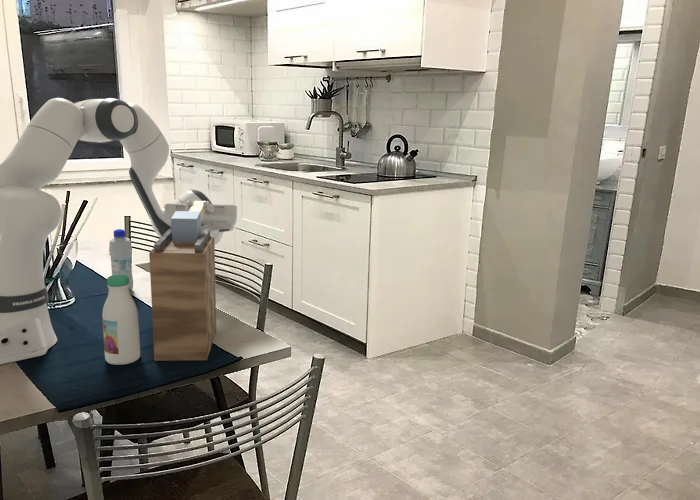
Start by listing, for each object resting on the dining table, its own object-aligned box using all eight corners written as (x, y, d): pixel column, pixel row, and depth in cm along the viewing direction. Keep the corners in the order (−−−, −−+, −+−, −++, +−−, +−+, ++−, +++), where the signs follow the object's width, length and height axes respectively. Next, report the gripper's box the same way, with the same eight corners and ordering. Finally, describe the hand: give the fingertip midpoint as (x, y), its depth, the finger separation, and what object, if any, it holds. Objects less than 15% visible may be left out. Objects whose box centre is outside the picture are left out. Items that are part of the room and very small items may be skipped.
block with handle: (197, 242, 140) (196, 218, 138) (172, 242, 140) (170, 218, 137) (211, 211, 164) (210, 190, 162) (189, 210, 164) (188, 190, 162)
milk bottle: (138, 349, 141) (133, 270, 136) (142, 362, 134) (138, 279, 129) (103, 354, 137) (97, 274, 133) (106, 368, 131) (100, 283, 126)
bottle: (107, 291, 182) (103, 229, 178) (127, 286, 187) (124, 226, 183) (118, 296, 178) (114, 232, 173) (138, 291, 183) (135, 229, 178)
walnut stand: (206, 360, 137) (204, 245, 130) (154, 360, 135) (148, 244, 129) (216, 331, 154) (214, 228, 147) (169, 331, 153) (165, 228, 146)
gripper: (169, 209, 172) (159, 192, 158) (239, 210, 174) (235, 193, 160) (167, 229, 170) (157, 214, 157) (238, 230, 172) (234, 215, 159)
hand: (197, 203), depth 159 cm, fingers closed on block with handle, 3 cm apart
